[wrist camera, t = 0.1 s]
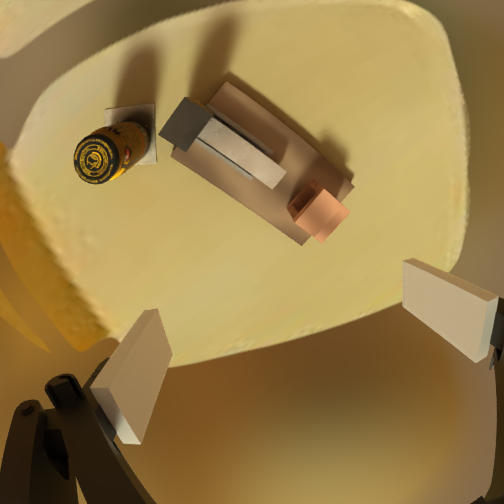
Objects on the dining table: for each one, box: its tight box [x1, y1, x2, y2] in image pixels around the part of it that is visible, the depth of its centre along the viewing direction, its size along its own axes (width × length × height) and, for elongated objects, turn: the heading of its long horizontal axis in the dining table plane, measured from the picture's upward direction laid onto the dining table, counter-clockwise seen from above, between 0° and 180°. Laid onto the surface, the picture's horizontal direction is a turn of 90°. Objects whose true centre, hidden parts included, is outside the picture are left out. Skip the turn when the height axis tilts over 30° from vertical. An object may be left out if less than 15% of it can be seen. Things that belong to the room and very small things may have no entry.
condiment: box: [74, 103, 157, 184], centre depth 28 cm, size 7×8×12 cm
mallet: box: [158, 97, 287, 190], centre depth 29 cm, size 4×14×11 cm, turn 52°
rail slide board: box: [171, 81, 354, 246], centre depth 35 cm, size 12×23×7 cm, turn 52°
